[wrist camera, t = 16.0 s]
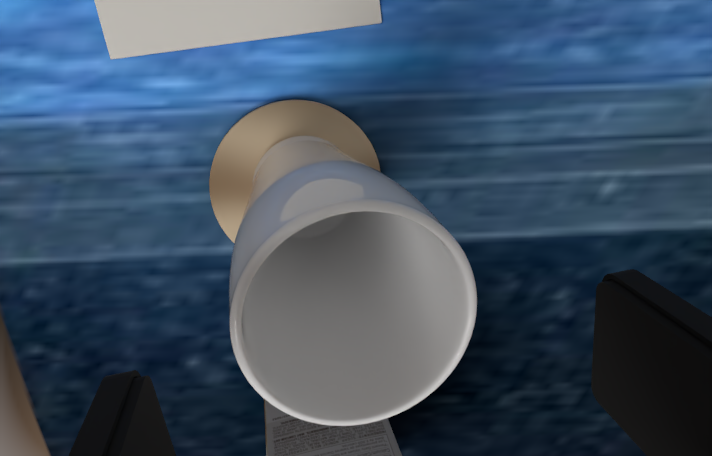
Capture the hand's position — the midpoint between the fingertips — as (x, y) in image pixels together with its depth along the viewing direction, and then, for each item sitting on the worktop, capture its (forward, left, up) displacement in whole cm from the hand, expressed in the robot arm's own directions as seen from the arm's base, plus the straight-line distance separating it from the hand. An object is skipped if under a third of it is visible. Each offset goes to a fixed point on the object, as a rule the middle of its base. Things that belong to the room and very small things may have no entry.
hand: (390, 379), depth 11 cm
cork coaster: (+1, 0, -19) cm, 19 cm away
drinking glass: (0, 0, -18) cm, 18 cm away
